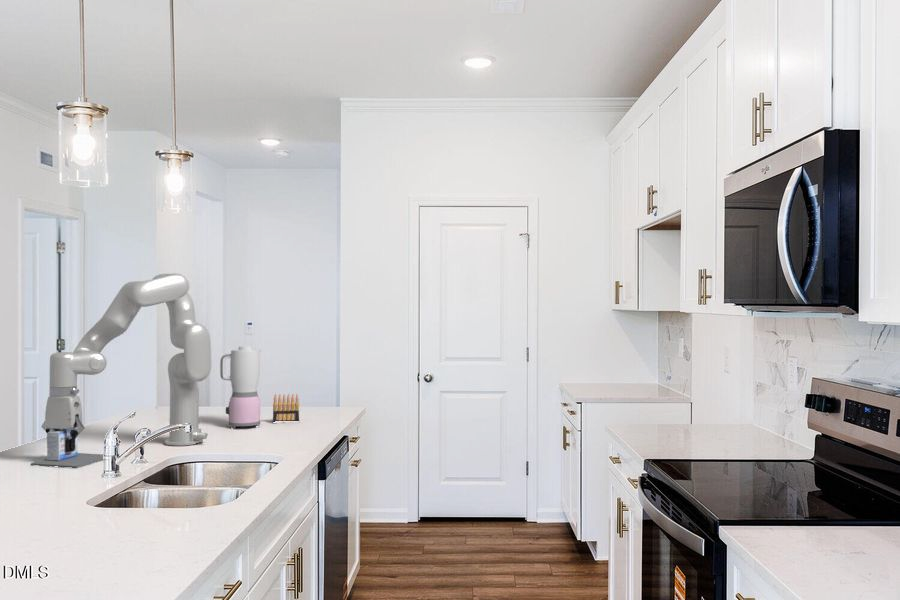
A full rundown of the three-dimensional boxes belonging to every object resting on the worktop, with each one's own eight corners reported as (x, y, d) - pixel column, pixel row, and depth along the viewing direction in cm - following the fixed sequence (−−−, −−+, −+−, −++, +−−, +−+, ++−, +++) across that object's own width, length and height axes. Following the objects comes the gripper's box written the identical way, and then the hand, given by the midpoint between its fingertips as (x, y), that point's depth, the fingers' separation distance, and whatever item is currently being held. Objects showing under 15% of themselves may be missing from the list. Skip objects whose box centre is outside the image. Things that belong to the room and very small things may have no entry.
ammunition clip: (299, 422, 291) (299, 393, 291) (299, 422, 289) (299, 393, 289) (272, 422, 289) (273, 393, 289) (272, 423, 287) (272, 394, 287)
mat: (113, 457, 222) (113, 455, 222) (76, 468, 206) (76, 466, 206) (70, 454, 225) (70, 452, 225) (30, 465, 209) (30, 463, 209)
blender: (258, 423, 287) (259, 345, 287) (262, 428, 275) (263, 347, 276) (218, 425, 280) (219, 346, 281) (220, 430, 269) (221, 347, 270)
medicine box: (58, 461, 212) (59, 432, 212) (46, 460, 213) (46, 432, 213) (78, 455, 220) (78, 428, 220) (65, 455, 221) (66, 427, 221)
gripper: (95, 391, 218) (95, 449, 218) (49, 389, 222) (48, 447, 222) (78, 394, 211) (77, 454, 211) (30, 392, 215) (29, 452, 214)
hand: (62, 450), depth 216 cm, fingers open, 4 cm apart
